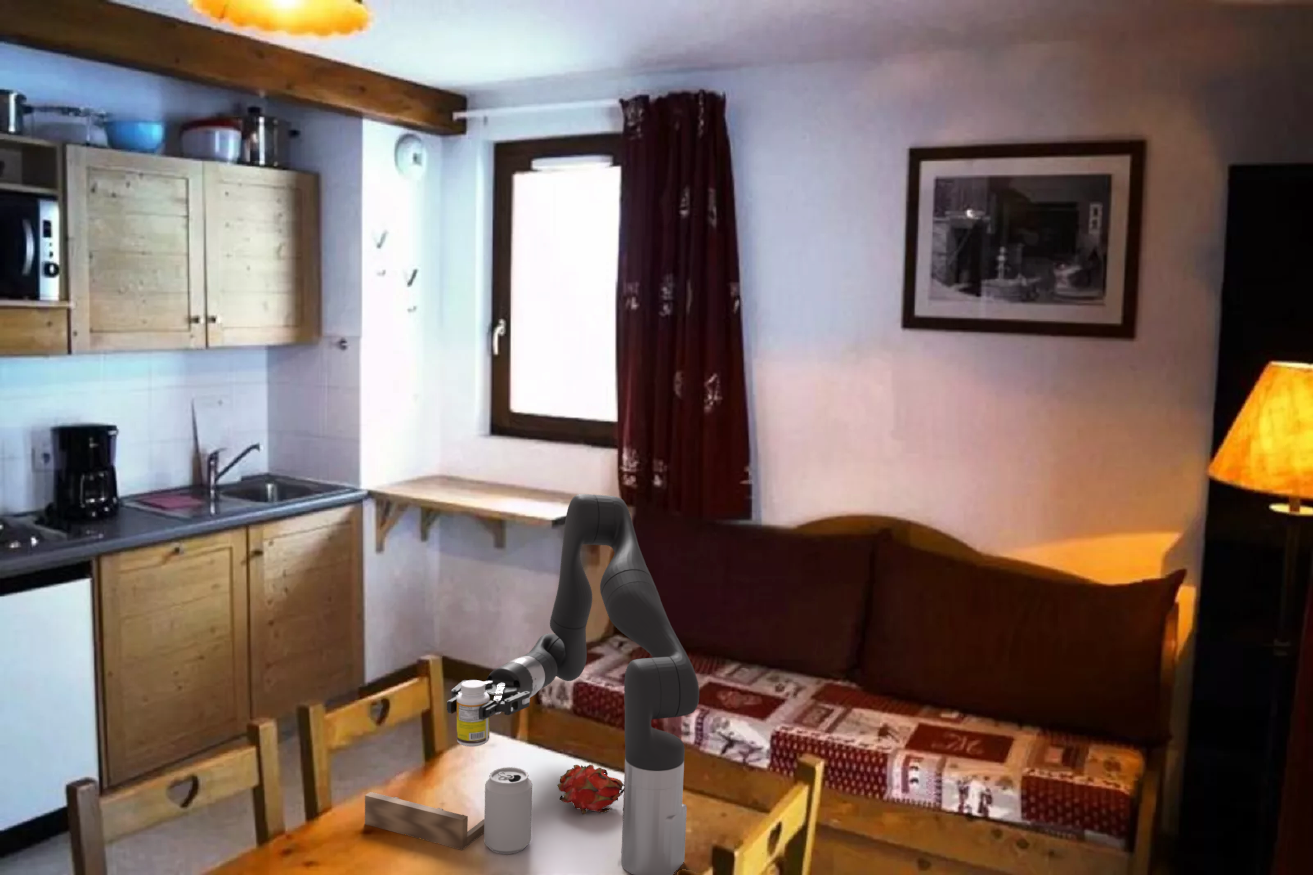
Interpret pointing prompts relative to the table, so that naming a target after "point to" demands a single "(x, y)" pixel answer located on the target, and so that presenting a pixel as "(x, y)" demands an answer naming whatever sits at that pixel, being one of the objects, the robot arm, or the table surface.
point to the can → (508, 810)
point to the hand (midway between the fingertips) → (465, 710)
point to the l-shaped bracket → (420, 821)
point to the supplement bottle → (472, 714)
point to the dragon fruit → (589, 788)
